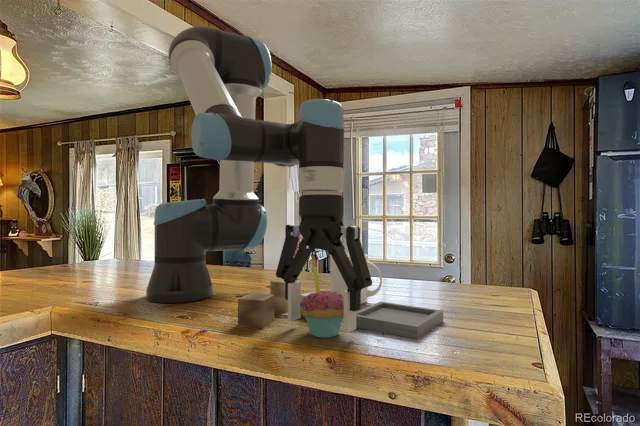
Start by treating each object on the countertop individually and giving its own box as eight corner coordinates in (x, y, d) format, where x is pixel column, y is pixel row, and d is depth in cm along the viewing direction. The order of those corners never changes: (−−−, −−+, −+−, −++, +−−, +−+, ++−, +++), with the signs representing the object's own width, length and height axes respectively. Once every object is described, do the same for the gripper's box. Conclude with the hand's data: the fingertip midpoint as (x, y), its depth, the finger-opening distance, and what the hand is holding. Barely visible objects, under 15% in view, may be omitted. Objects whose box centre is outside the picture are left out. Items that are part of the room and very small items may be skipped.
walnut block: (237, 326, 71) (237, 298, 71) (249, 319, 76) (249, 293, 76) (263, 328, 70) (263, 300, 70) (274, 321, 75) (274, 294, 75)
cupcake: (310, 344, 62) (310, 266, 62) (292, 329, 70) (292, 260, 70) (359, 337, 65) (359, 264, 65) (336, 323, 73) (336, 258, 73)
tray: (348, 325, 72) (348, 314, 72) (380, 311, 82) (380, 301, 82) (417, 339, 64) (417, 326, 64) (443, 321, 75) (443, 310, 75)
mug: (376, 308, 85) (377, 258, 85) (324, 303, 89) (324, 255, 89) (386, 300, 93) (386, 254, 93) (337, 296, 97) (337, 252, 97)
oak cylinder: (266, 310, 83) (266, 281, 82) (278, 307, 86) (279, 279, 86) (280, 313, 80) (281, 283, 80) (293, 309, 84) (293, 281, 83)
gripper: (255, 194, 71) (255, 318, 71) (372, 191, 57) (371, 343, 58) (283, 196, 77) (282, 310, 77) (394, 193, 64) (393, 331, 64)
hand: (320, 324), depth 67 cm, fingers open, 11 cm apart
